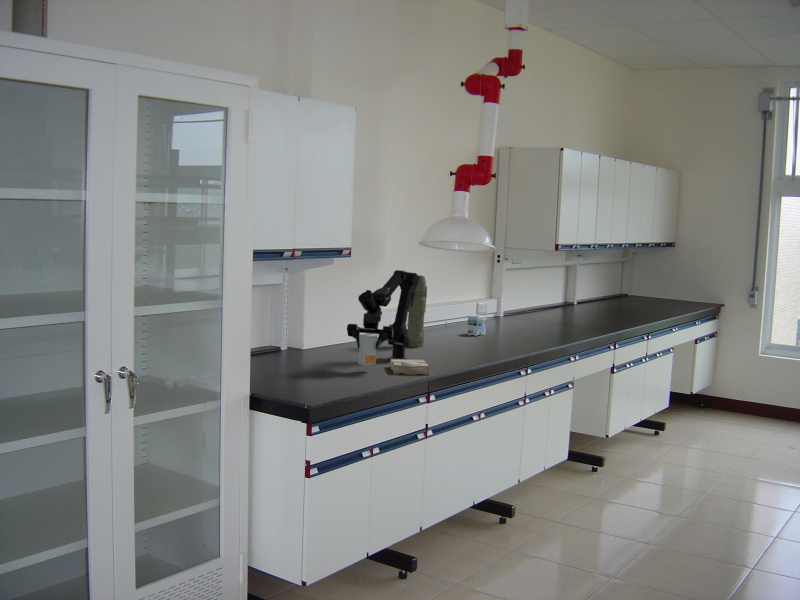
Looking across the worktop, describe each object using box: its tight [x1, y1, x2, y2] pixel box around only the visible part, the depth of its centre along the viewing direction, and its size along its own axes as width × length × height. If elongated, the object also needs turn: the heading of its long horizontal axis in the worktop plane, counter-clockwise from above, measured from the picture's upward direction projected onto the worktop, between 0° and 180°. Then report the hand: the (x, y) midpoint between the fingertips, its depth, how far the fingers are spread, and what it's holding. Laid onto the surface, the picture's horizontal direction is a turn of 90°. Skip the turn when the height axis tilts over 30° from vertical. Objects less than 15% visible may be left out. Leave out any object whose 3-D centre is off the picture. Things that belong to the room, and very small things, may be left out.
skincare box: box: [358, 333, 378, 366], centre depth 301 cm, size 6×4×12 cm
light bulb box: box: [466, 314, 488, 335], centre depth 417 cm, size 11×7×11 cm, turn 147°
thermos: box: [407, 274, 428, 348], centre depth 367 cm, size 9×12×35 cm
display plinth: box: [389, 358, 430, 376], centre depth 308 cm, size 15×14×4 cm
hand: (367, 348), depth 300 cm, fingers closed on skincare box, 7 cm apart
